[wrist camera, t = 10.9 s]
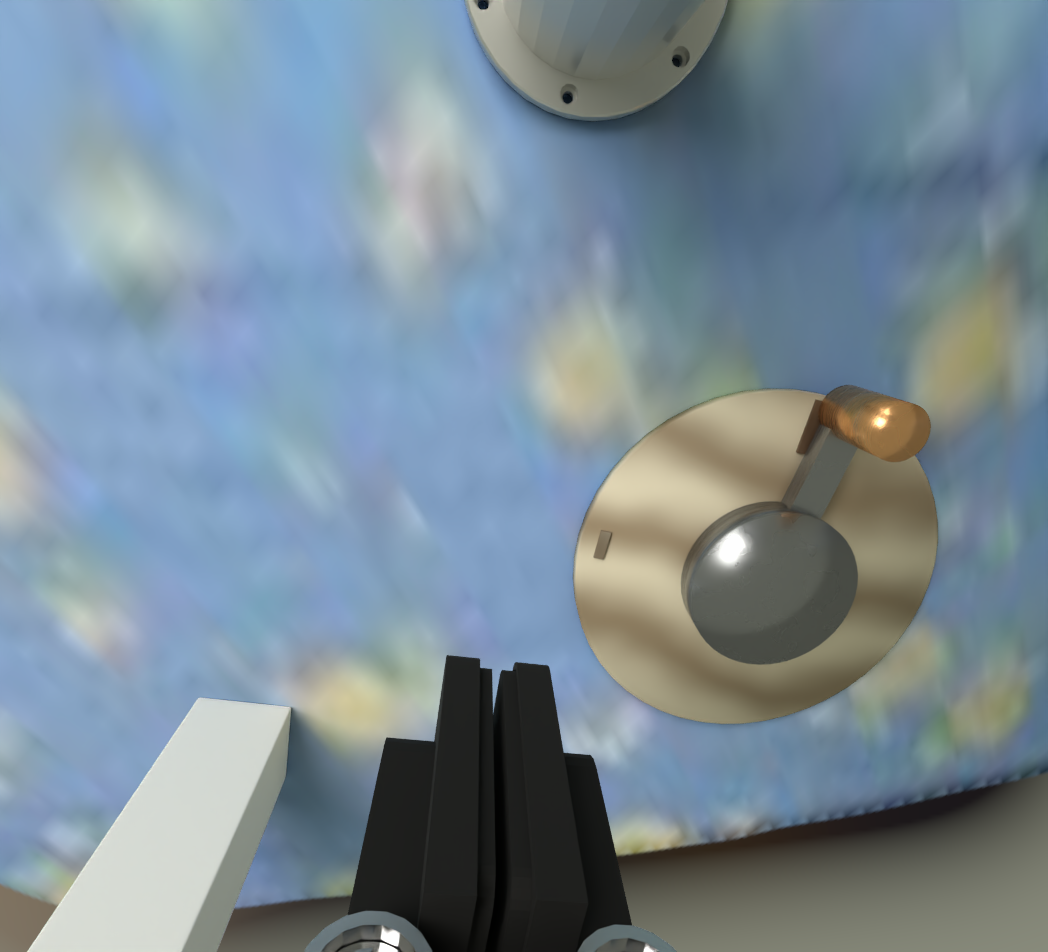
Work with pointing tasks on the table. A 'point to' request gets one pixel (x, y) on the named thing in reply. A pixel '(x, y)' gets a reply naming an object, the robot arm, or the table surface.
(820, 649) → the dial plate
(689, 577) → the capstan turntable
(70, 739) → the table surface
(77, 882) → the milk
